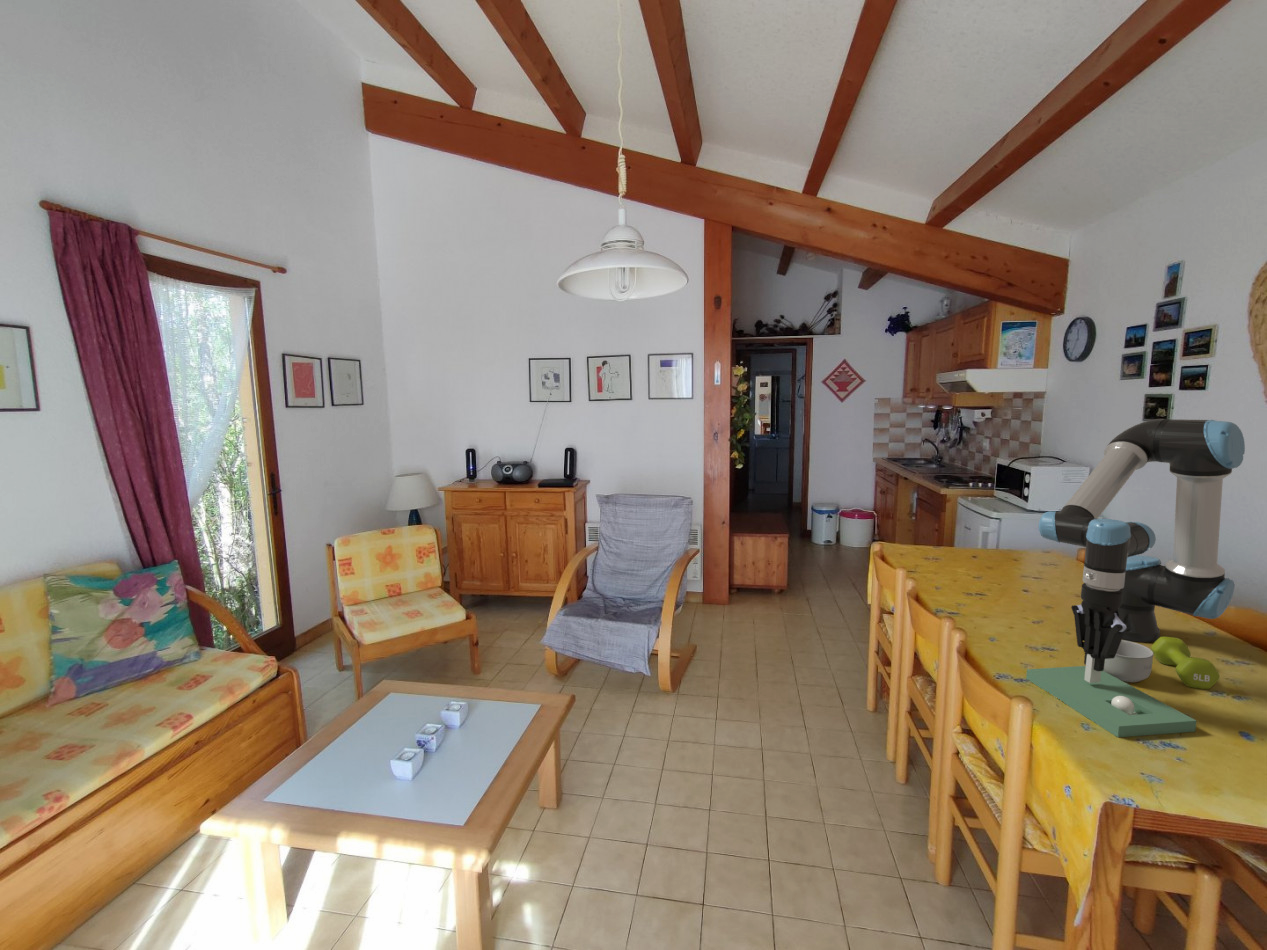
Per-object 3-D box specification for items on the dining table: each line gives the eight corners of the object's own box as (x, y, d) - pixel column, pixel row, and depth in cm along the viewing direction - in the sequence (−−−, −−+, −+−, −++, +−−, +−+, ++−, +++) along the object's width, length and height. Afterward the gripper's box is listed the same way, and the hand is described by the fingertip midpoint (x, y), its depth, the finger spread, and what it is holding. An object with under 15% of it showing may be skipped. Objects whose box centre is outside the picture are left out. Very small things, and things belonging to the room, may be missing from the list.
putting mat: (1091, 674, 147) (1092, 665, 146) (1195, 731, 122) (1196, 720, 122) (1026, 678, 145) (1026, 669, 145) (1117, 737, 120) (1118, 726, 120)
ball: (1119, 707, 131) (1125, 692, 130) (1135, 719, 127) (1142, 703, 126) (1103, 706, 130) (1109, 691, 129) (1119, 718, 127) (1126, 702, 126)
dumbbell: (1147, 658, 155) (1150, 633, 154) (1184, 663, 153) (1188, 637, 151) (1178, 687, 140) (1182, 659, 139) (1220, 693, 137) (1224, 665, 136)
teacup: (1154, 691, 138) (1158, 660, 137) (1097, 680, 144) (1100, 650, 143) (1142, 667, 150) (1145, 638, 149) (1089, 658, 156) (1092, 630, 154)
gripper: (1064, 577, 139) (1055, 668, 143) (1113, 596, 126) (1102, 696, 130) (1092, 576, 140) (1082, 666, 144) (1144, 595, 127) (1132, 694, 131)
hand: (1092, 680), depth 137 cm, fingers closed
